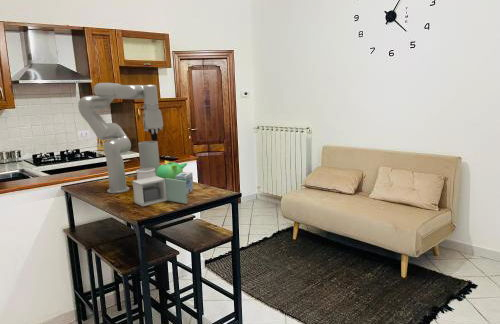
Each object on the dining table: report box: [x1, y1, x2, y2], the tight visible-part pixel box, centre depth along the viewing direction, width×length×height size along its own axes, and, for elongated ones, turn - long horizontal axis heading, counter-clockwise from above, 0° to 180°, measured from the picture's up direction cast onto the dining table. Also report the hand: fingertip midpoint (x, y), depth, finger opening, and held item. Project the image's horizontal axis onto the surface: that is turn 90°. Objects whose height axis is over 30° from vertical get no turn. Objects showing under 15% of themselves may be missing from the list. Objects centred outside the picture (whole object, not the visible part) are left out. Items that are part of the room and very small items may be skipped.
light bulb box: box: [175, 171, 194, 195], centre depth 218 cm, size 11×7×11 cm, turn 168°
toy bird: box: [156, 160, 188, 184], centre depth 239 cm, size 18×17×15 cm
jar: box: [136, 167, 156, 180], centre depth 215 cm, size 11×10×15 cm
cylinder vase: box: [137, 140, 161, 175], centre depth 253 cm, size 12×12×25 cm
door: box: [166, 178, 188, 205], centre depth 198 cm, size 2×14×12 cm, turn 55°
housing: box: [132, 176, 168, 207], centre depth 201 cm, size 10×14×12 cm
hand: (154, 140), depth 210 cm, fingers closed
